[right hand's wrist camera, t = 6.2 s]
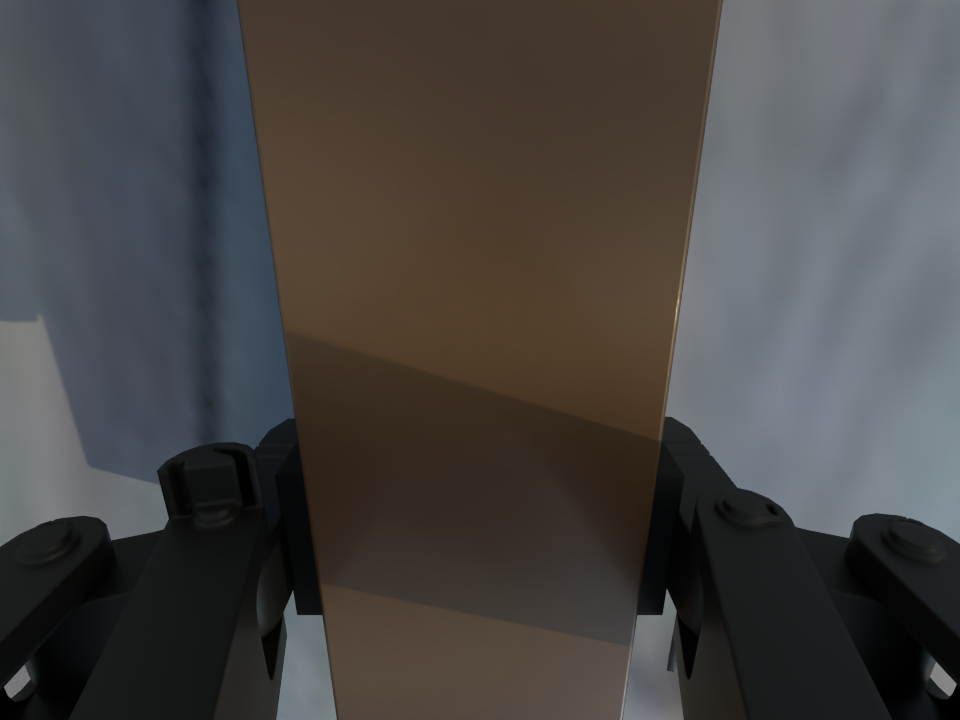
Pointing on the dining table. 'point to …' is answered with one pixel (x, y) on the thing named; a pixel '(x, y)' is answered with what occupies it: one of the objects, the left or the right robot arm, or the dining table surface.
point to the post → (479, 328)
